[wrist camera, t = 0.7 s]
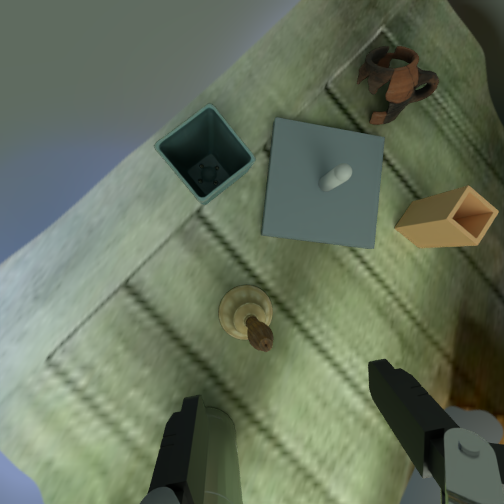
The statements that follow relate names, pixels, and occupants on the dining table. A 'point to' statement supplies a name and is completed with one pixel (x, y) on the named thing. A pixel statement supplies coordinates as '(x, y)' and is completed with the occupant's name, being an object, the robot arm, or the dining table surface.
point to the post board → (303, 191)
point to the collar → (447, 219)
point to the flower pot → (205, 153)
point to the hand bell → (248, 316)
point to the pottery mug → (396, 80)
